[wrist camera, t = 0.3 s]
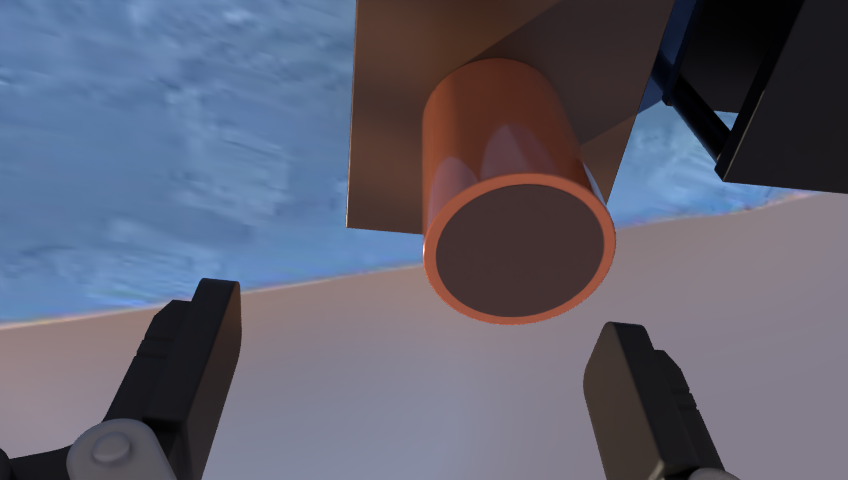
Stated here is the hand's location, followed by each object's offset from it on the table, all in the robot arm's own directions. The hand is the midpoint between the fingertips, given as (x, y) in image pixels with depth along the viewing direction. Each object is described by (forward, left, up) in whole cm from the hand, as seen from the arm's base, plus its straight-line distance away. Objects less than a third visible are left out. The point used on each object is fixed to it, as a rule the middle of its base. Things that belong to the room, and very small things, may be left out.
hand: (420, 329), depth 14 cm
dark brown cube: (+2, +3, -24) cm, 24 cm away
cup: (+2, +3, -14) cm, 15 cm away
